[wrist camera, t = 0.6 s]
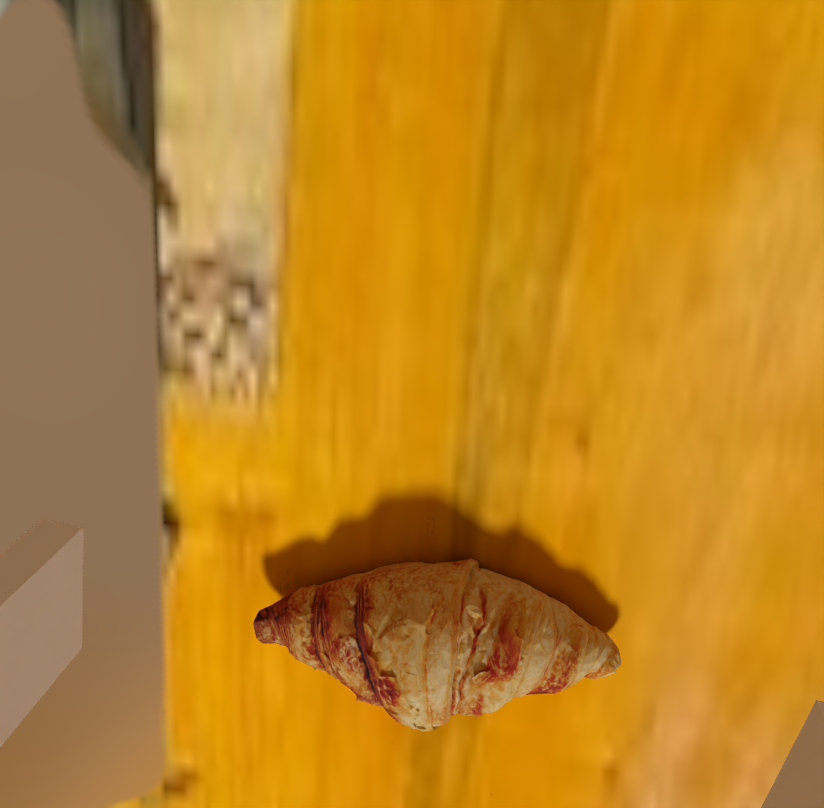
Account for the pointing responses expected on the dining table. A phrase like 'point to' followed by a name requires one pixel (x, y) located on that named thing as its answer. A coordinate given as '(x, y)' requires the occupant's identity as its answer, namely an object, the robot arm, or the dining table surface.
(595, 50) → the dining table surface
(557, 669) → the croissant
